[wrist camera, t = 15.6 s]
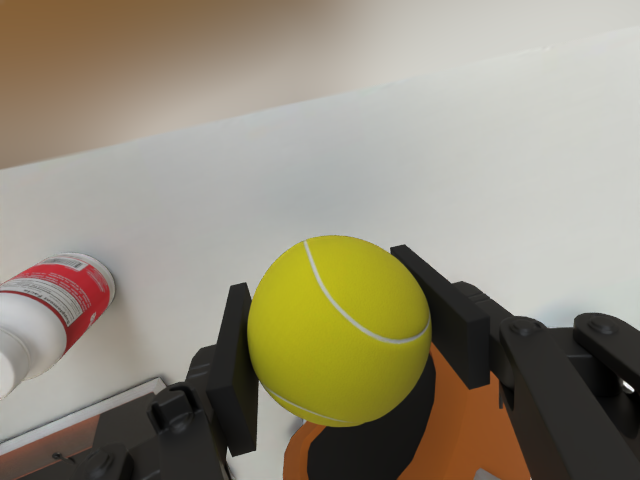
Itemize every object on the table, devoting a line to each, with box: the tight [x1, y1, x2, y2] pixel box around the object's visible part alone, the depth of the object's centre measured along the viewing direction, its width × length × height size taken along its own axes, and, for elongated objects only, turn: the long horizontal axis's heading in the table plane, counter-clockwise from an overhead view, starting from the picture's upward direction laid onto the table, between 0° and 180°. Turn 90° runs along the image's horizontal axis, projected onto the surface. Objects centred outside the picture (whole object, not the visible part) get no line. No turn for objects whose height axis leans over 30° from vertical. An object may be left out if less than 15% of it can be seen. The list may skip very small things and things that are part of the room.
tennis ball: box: [247, 235, 432, 427], centre depth 13 cm, size 7×7×7 cm
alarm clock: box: [283, 341, 531, 480], centre depth 28 cm, size 23×9×17 cm, turn 140°
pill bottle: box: [0, 253, 115, 400], centre depth 22 cm, size 6×6×11 cm
